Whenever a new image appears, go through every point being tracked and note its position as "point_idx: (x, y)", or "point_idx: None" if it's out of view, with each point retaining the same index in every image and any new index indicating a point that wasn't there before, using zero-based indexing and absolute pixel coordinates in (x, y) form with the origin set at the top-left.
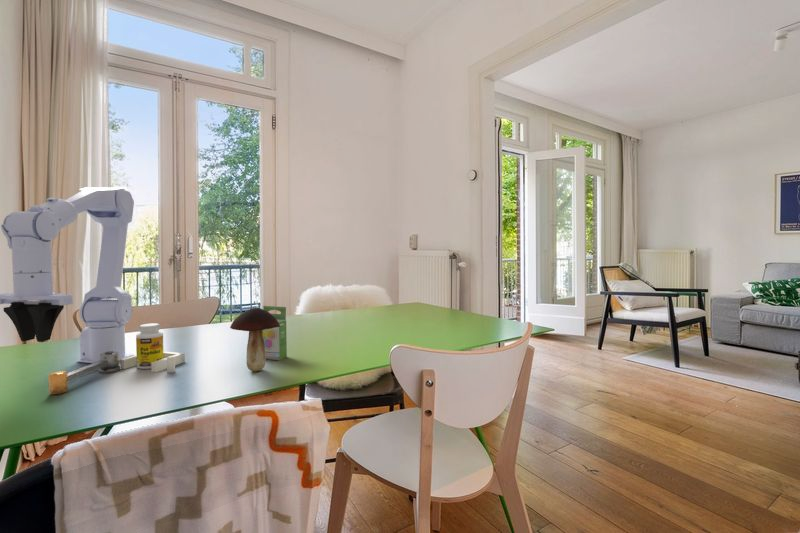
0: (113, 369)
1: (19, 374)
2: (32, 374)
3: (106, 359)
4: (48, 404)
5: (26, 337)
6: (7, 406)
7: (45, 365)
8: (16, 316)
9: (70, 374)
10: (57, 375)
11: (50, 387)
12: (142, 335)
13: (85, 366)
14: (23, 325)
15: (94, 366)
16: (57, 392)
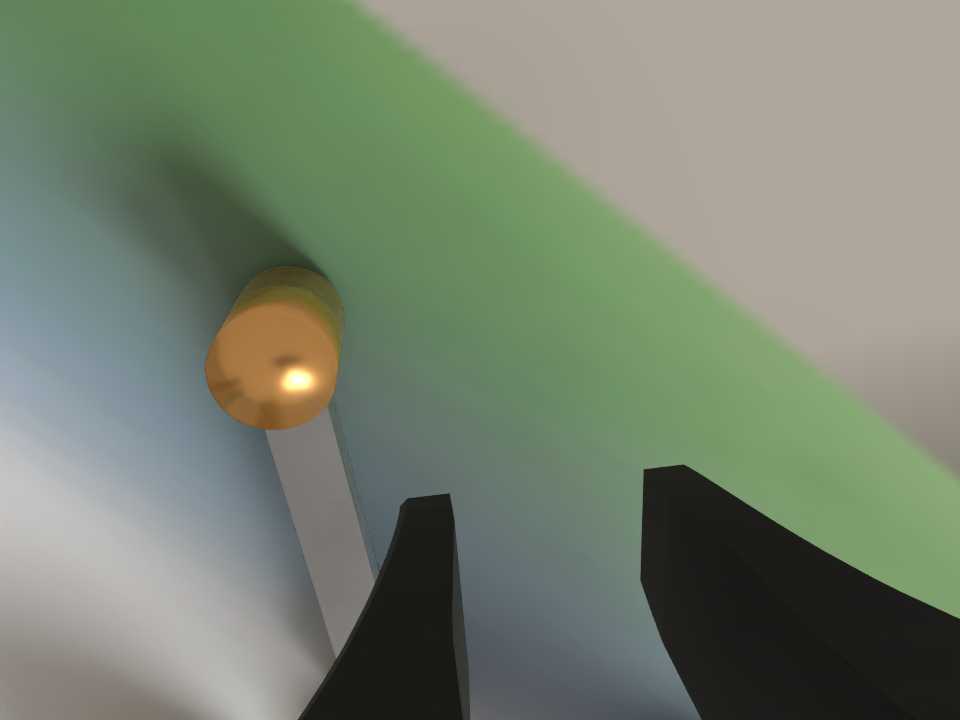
0: None
1: (908, 520)
2: (827, 537)
3: None
4: (117, 119)
5: (655, 521)
6: (383, 29)
7: None
8: (898, 707)
9: (282, 447)
10: (218, 334)
11: (288, 282)
12: None
13: None
14: (754, 634)
15: (330, 629)
16: (247, 283)
